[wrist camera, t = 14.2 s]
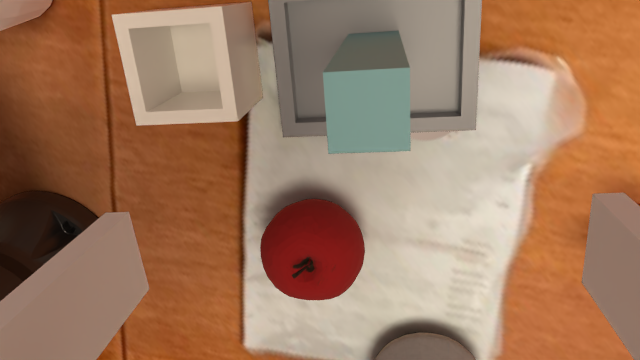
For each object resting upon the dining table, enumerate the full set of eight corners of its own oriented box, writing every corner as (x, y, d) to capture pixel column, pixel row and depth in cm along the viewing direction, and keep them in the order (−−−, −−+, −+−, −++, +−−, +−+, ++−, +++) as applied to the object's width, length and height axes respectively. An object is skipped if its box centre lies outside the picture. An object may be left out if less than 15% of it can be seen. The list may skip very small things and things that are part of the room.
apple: (282, 270, 50) (259, 335, 40) (263, 190, 46) (233, 241, 37) (372, 261, 48) (369, 328, 39) (358, 178, 45) (351, 229, 36)
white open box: (177, 101, 44) (136, 125, 37) (160, 8, 41) (111, 14, 34) (262, 97, 43) (237, 121, 36) (251, 1, 40) (221, 6, 33)
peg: (351, 83, 40) (328, 153, 24) (348, 33, 39) (322, 72, 22) (399, 80, 40) (410, 150, 23) (398, 30, 38) (410, 67, 22)
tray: (288, 129, 44) (282, 137, 41) (273, -14, 39) (266, -13, 37) (470, 121, 41) (475, 130, 39) (477, -30, 37) (483, -31, 35)
